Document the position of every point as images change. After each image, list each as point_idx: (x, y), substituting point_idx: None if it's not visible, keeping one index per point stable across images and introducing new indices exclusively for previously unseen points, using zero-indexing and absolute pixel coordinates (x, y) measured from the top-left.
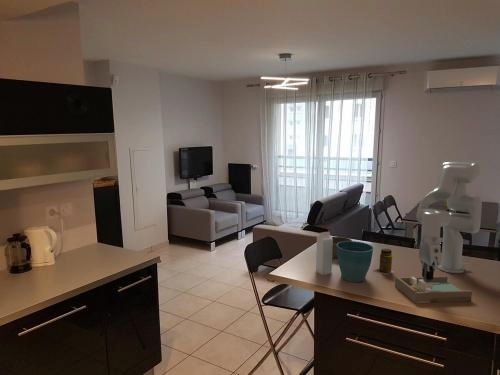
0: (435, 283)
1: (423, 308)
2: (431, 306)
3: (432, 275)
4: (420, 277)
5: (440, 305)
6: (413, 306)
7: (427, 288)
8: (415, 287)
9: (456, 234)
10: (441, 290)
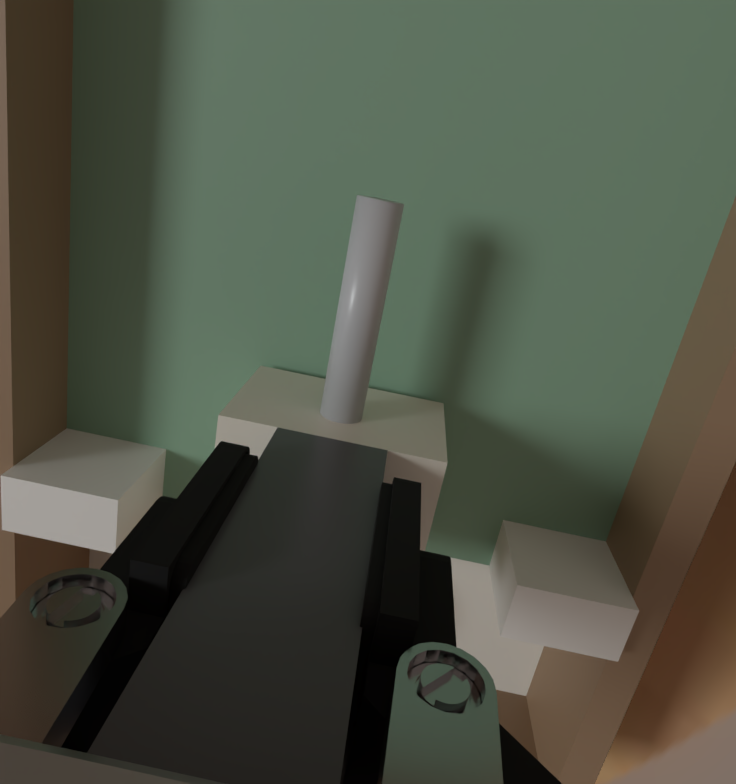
0: (373, 309)
1: (691, 724)
2: (695, 616)
3: (449, 595)
4: (4, 328)
5: (728, 498)
6: (605, 775)
7: (532, 630)
8: None
9: None
10: (456, 207)
